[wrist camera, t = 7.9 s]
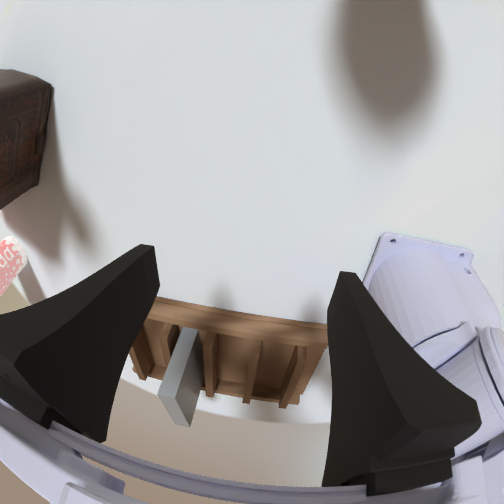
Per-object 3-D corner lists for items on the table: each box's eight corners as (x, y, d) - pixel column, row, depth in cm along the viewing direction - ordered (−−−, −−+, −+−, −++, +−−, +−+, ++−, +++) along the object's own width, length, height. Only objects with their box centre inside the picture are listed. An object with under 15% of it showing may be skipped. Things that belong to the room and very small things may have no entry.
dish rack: (332, 325, 26) (335, 355, 23) (302, 390, 33) (301, 415, 30) (113, 286, 27) (96, 310, 24) (136, 358, 34) (126, 379, 31)
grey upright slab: (198, 329, 28) (174, 398, 21) (206, 367, 31) (190, 427, 25) (183, 327, 28) (157, 394, 21) (193, 365, 32) (175, 424, 25)
